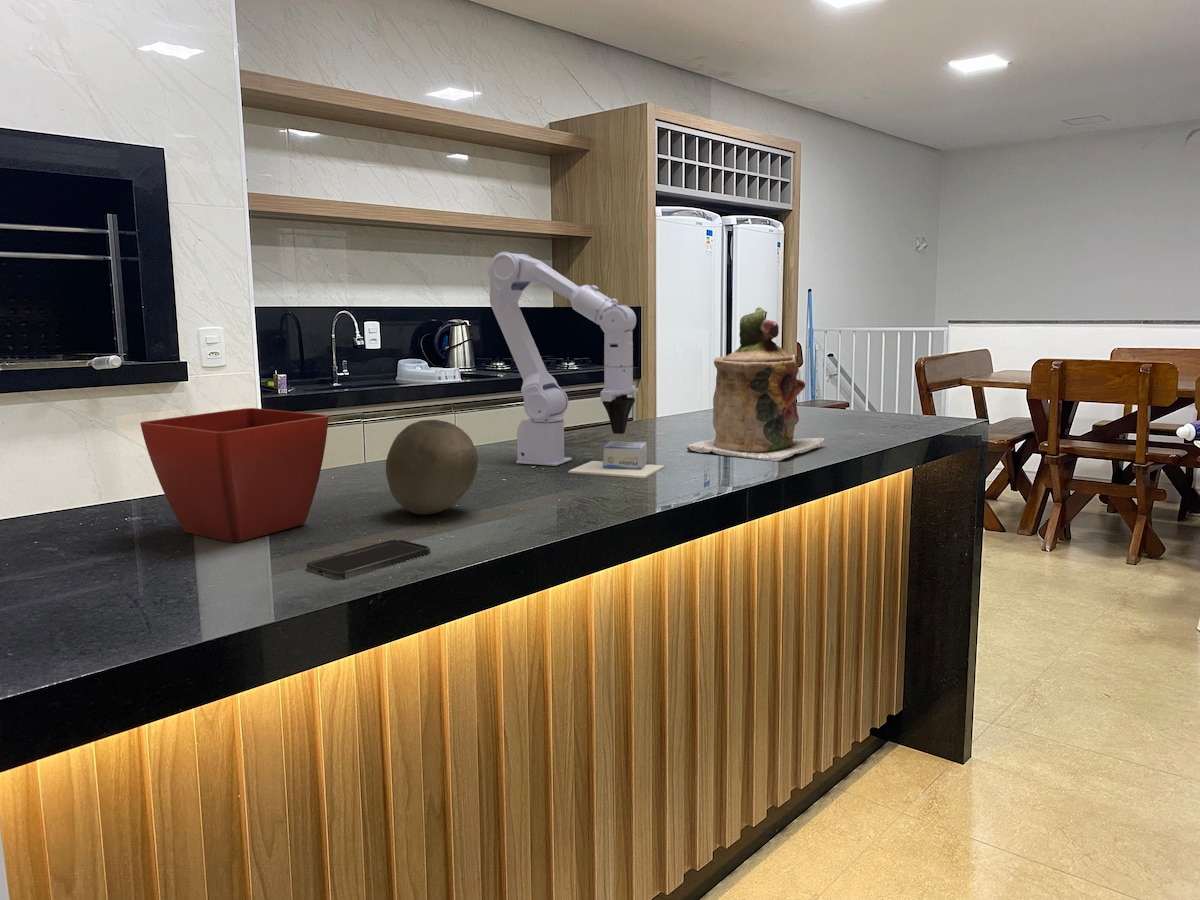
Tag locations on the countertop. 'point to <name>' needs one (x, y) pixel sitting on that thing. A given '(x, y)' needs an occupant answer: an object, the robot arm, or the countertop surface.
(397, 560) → the phone
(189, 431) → the plant pot
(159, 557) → the countertop surface
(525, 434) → the robot arm
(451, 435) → the cantaloupe
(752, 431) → the cookie jar
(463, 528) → the countertop surface
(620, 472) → the mat
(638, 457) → the medicine box
